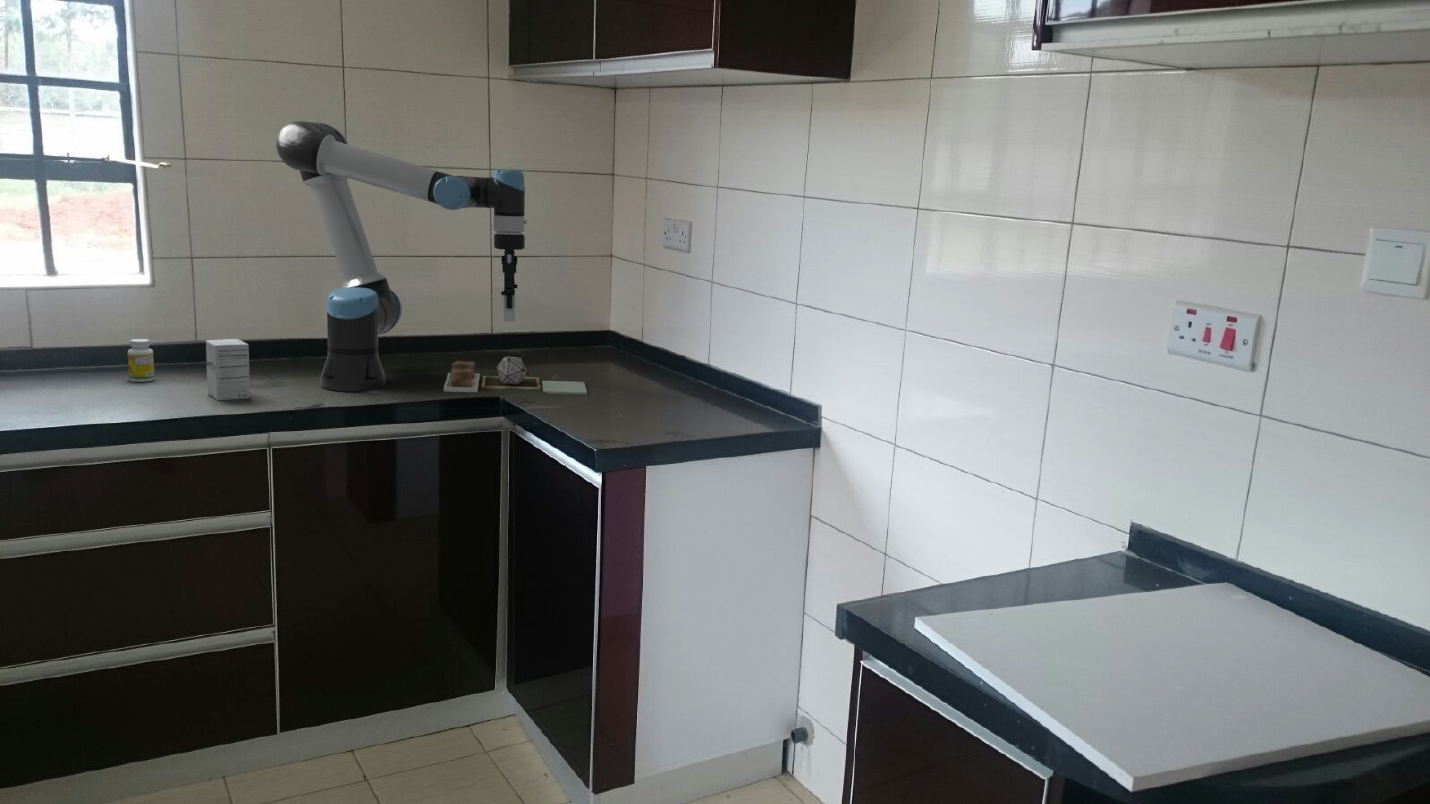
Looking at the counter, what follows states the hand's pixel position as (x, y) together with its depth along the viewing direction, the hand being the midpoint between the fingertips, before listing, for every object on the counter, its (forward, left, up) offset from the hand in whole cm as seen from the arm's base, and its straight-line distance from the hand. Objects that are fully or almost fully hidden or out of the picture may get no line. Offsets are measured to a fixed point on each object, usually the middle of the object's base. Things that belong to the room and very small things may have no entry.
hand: (509, 317), depth 270 cm
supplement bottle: (-85, -5, -18) cm, 87 cm away
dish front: (-11, -8, -18) cm, 22 cm away
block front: (-11, -8, -17) cm, 22 cm away
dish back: (-11, +2, -18) cm, 21 cm away
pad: (+14, -2, -18) cm, 23 cm away
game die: (+1, 0, -18) cm, 18 cm away
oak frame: (+1, 0, -18) cm, 18 cm away
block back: (-11, +2, -17) cm, 20 cm away
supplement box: (-62, -20, -18) cm, 68 cm away
